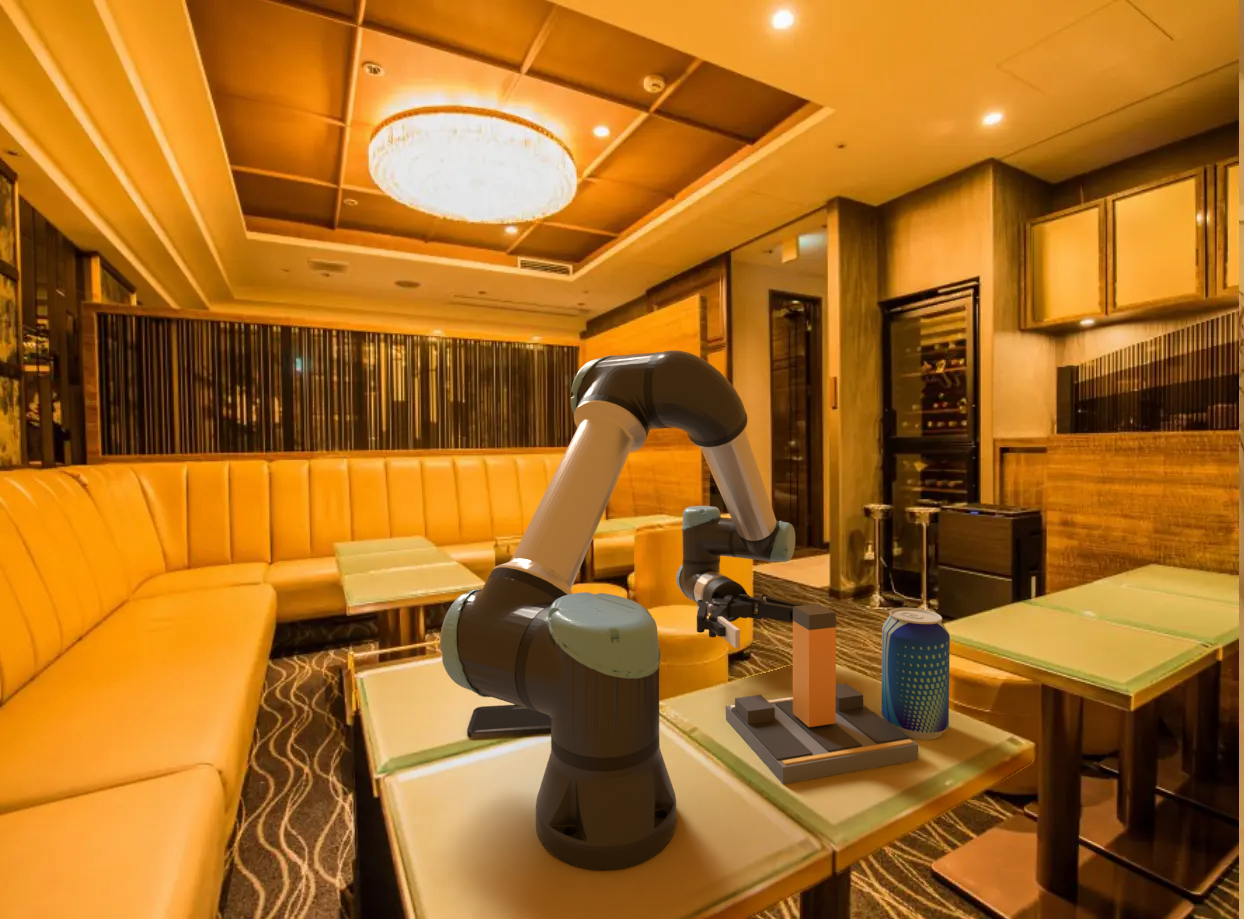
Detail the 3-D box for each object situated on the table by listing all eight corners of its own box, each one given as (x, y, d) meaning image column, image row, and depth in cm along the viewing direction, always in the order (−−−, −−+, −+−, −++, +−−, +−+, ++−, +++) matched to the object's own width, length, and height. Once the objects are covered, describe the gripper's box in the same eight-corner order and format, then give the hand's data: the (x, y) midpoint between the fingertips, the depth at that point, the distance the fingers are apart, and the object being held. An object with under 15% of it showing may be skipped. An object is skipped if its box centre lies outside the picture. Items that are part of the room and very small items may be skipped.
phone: (575, 727, 81) (465, 733, 79) (575, 734, 81) (465, 741, 79) (574, 701, 88) (474, 706, 87) (574, 708, 88) (475, 713, 87)
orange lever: (808, 727, 76) (809, 615, 75) (792, 713, 80) (792, 606, 79) (835, 723, 77) (835, 612, 76) (818, 709, 81) (818, 603, 80)
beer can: (932, 713, 85) (933, 606, 84) (960, 744, 76) (961, 625, 76) (873, 711, 85) (873, 605, 85) (894, 741, 77) (895, 623, 76)
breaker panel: (782, 784, 68) (782, 750, 68) (725, 719, 84) (725, 692, 83) (918, 759, 73) (918, 728, 73) (840, 703, 88) (840, 677, 88)
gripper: (781, 610, 111) (850, 650, 90) (657, 622, 105) (702, 668, 84) (781, 572, 111) (850, 603, 90) (657, 581, 104) (701, 617, 84)
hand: (779, 634), depth 87 cm, fingers open, 13 cm apart
